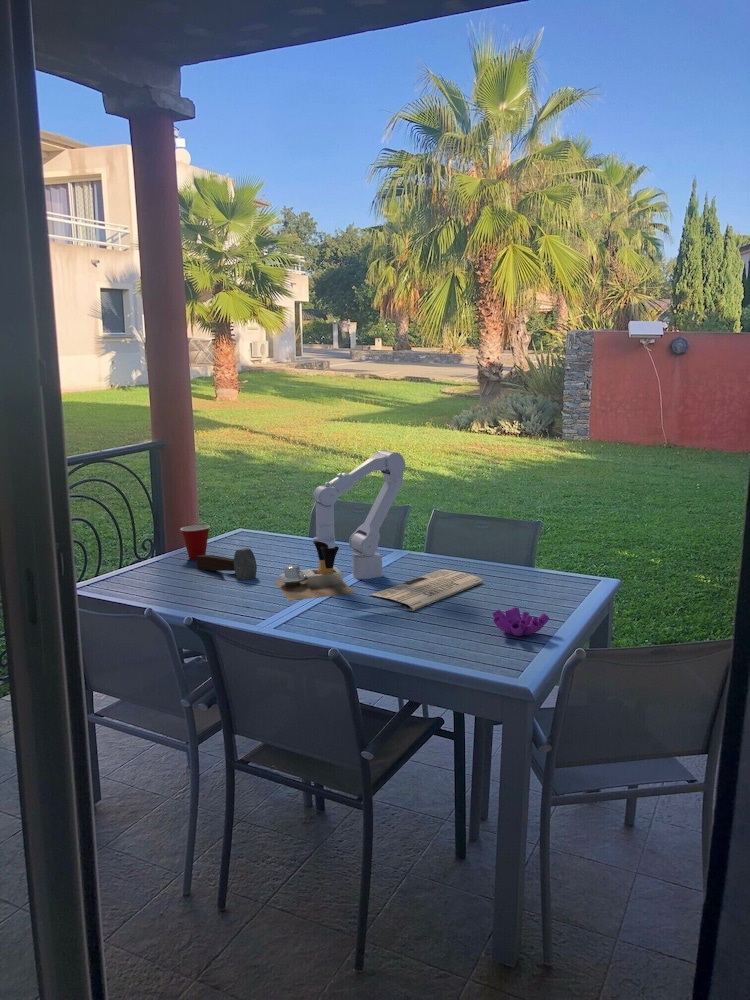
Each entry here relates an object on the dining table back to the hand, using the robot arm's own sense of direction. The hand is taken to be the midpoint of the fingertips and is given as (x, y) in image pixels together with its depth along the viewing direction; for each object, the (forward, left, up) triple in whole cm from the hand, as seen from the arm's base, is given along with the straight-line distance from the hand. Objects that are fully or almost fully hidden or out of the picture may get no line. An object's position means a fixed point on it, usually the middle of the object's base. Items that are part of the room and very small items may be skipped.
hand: (326, 565), depth 253 cm
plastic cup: (+36, -51, -7) cm, 63 cm away
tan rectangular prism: (0, 0, -6) cm, 6 cm away
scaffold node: (+6, 0, -5) cm, 8 cm away
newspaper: (-29, +17, -8) cm, 34 cm away
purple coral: (-36, +60, -7) cm, 70 cm away
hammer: (+29, -25, -8) cm, 39 cm away
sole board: (+5, +4, -7) cm, 10 cm away
